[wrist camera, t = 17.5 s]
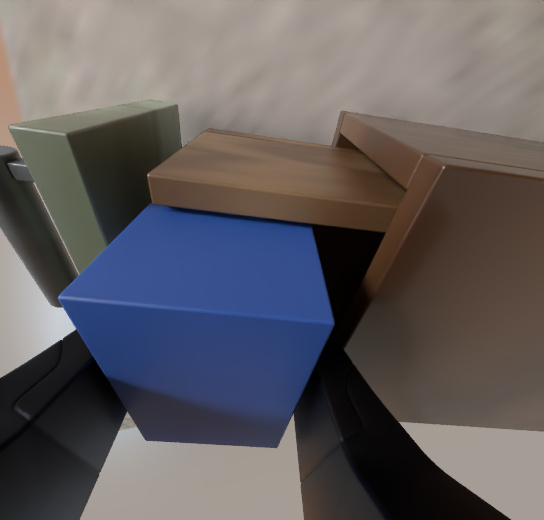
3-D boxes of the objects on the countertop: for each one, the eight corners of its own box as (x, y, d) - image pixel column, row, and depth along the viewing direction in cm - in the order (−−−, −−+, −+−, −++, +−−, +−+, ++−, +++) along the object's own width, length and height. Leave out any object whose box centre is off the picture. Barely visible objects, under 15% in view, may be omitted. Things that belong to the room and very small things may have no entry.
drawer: (106, 271, 16) (20, 369, 11) (31, 81, 10) (-269, 86, 4) (365, 298, 17) (405, 398, 12) (447, 144, 11) (611, 209, 6)
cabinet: (294, 288, 18) (305, 416, 11) (340, 110, 11) (445, 164, 4) (473, 306, 19) (583, 434, 12) (621, 154, 12) (1074, 255, 5)
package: (168, 182, 8) (52, 296, 4) (307, 200, 8) (338, 323, 4) (188, 319, 12) (144, 440, 8) (277, 328, 12) (278, 448, 8)
